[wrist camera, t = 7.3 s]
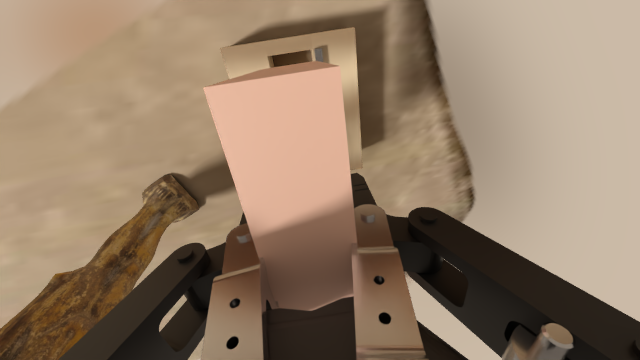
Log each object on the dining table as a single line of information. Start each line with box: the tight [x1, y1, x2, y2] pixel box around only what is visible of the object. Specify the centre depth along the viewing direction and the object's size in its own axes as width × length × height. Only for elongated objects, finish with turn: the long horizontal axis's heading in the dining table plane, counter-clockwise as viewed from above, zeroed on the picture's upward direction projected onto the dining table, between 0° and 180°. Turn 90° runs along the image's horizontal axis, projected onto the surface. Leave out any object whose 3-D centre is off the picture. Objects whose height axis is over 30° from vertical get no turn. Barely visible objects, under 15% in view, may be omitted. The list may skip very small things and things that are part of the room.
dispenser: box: [220, 27, 362, 170], centre depth 25 cm, size 13×11×5 cm
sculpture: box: [0, 174, 199, 360], centre depth 19 cm, size 7×6×30 cm
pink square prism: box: [203, 61, 357, 311], centre depth 12 cm, size 10×3×10 cm, turn 7°
